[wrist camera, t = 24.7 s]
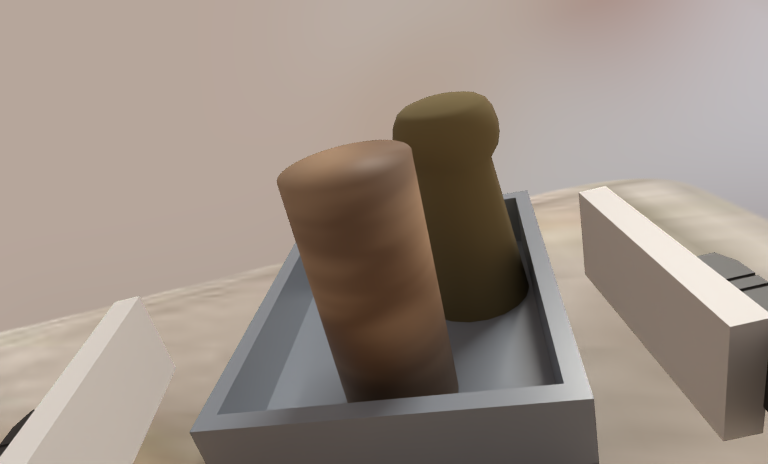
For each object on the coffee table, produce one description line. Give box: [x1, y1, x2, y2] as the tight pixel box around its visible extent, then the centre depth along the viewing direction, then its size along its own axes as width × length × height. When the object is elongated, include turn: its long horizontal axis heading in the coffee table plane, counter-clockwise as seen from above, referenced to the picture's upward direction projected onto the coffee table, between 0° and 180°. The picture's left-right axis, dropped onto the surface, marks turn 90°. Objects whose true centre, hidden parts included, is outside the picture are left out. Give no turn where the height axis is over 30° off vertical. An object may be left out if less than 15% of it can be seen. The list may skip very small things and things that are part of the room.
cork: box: [393, 92, 529, 322], centre depth 28 cm, size 6×6×11 cm
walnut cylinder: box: [277, 140, 459, 403], centre depth 22 cm, size 5×5×11 cm
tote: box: [190, 191, 599, 464], centre depth 28 cm, size 15×18×4 cm
